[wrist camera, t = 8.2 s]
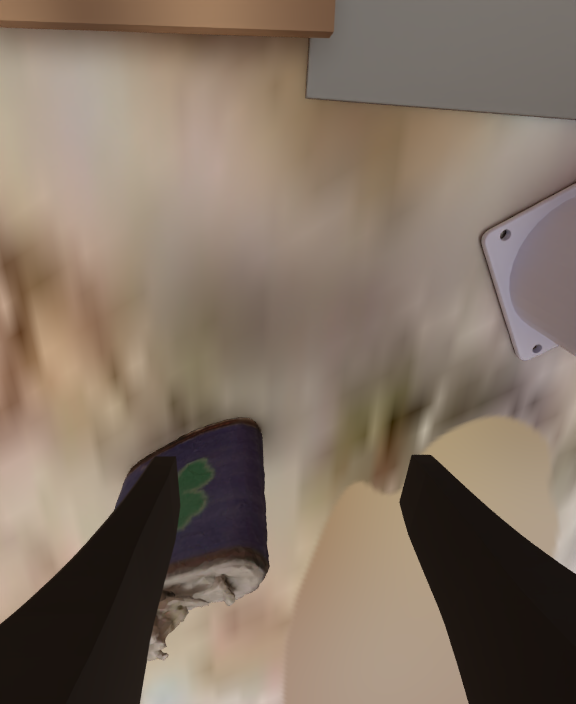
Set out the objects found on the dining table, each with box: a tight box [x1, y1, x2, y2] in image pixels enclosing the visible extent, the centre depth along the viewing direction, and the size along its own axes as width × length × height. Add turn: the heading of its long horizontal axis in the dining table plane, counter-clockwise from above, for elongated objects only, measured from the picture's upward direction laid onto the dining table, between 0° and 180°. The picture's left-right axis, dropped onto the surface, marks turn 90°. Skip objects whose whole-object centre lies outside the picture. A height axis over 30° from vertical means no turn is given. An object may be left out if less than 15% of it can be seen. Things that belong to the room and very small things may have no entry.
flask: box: [114, 417, 270, 661], centre depth 19 cm, size 9×3×11 cm, turn 116°
